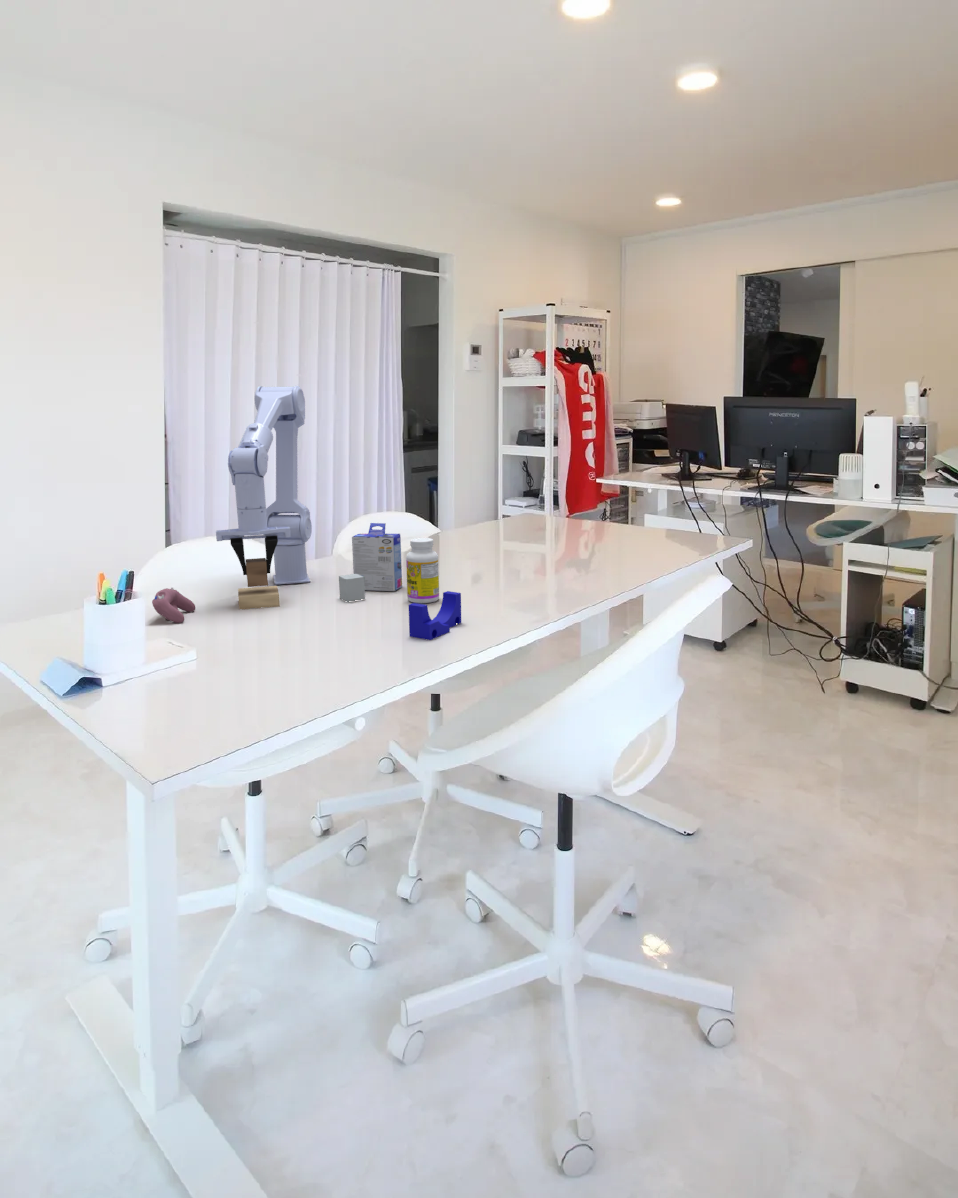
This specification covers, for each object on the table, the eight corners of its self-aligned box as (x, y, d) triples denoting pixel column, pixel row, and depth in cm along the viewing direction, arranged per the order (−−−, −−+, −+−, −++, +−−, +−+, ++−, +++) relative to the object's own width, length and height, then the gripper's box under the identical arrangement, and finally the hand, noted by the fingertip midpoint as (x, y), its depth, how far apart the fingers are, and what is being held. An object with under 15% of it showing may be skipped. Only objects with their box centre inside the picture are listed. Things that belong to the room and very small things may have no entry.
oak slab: (239, 602, 171) (238, 588, 171) (278, 599, 174) (277, 585, 173) (239, 611, 164) (238, 597, 163) (280, 608, 166) (278, 594, 165)
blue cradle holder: (430, 641, 141) (429, 608, 140) (409, 637, 144) (408, 604, 142) (468, 625, 151) (467, 593, 150) (448, 621, 153) (447, 591, 152)
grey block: (340, 598, 172) (338, 575, 170) (357, 596, 174) (356, 573, 173) (347, 602, 168) (346, 579, 167) (365, 600, 170) (363, 576, 169)
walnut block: (247, 582, 168) (245, 559, 167) (267, 581, 170) (265, 557, 168) (247, 586, 165) (245, 562, 164) (268, 585, 166) (266, 561, 165)
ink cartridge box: (403, 586, 182) (401, 522, 179) (396, 592, 177) (393, 526, 173) (361, 585, 184) (358, 522, 181) (353, 590, 179) (350, 525, 175)
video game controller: (178, 618, 164) (159, 589, 162) (198, 608, 163) (179, 578, 162) (164, 632, 154) (143, 601, 152) (185, 621, 154) (164, 589, 152)
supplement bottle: (403, 598, 171) (401, 538, 168) (432, 595, 174) (431, 536, 170) (413, 605, 165) (411, 543, 162) (443, 602, 168) (442, 540, 165)
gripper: (213, 511, 158) (219, 579, 161) (289, 508, 162) (294, 574, 165) (214, 507, 165) (220, 572, 168) (287, 504, 169) (291, 568, 172)
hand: (256, 573), depth 167 cm, fingers closed on walnut block, 4 cm apart
